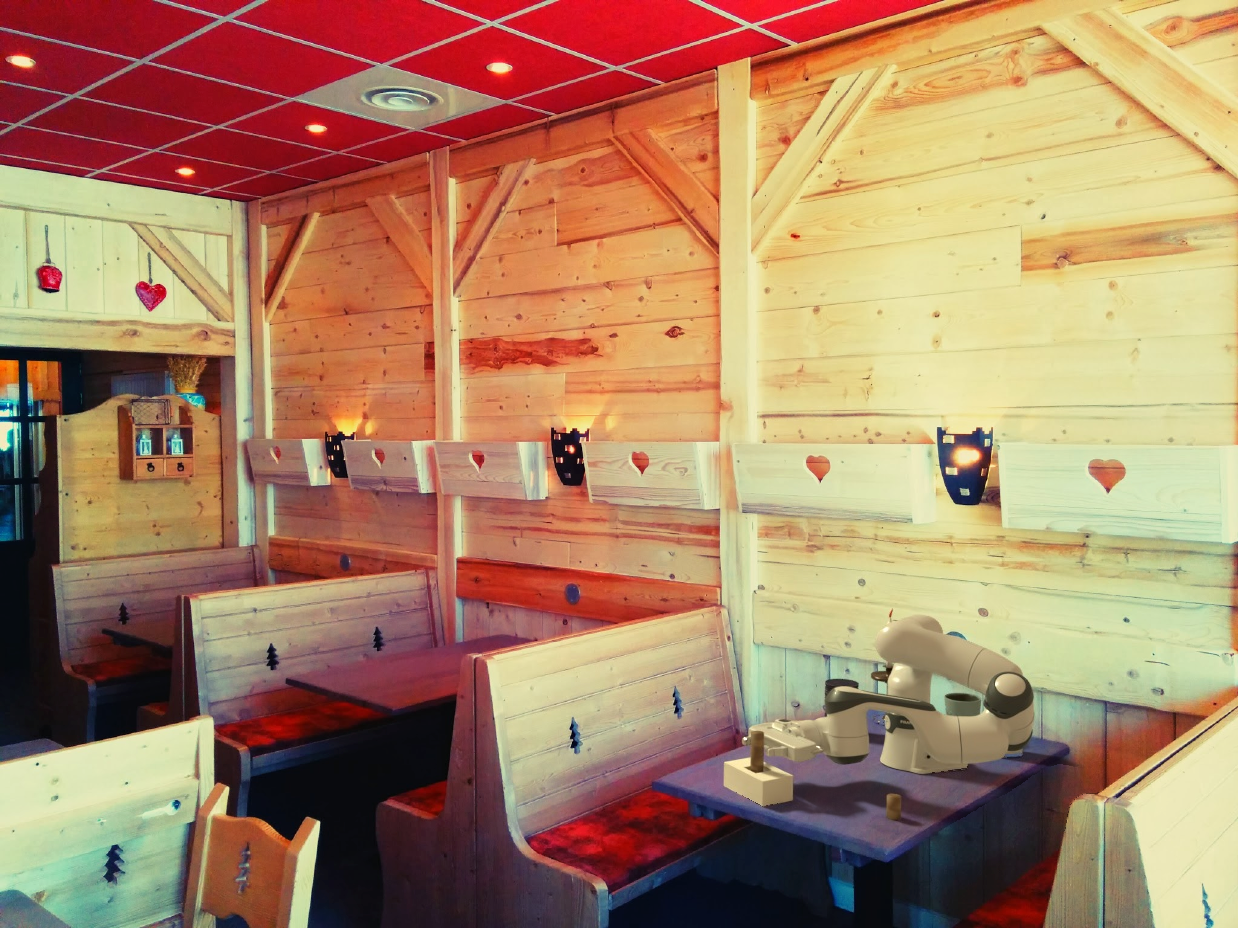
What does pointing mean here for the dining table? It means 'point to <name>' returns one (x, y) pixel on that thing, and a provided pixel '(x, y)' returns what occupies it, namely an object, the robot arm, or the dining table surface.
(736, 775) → the bar
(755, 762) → the long walnut pin
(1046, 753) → the dining table surface
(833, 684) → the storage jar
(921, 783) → the dining table surface
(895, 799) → the short walnut pin
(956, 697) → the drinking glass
